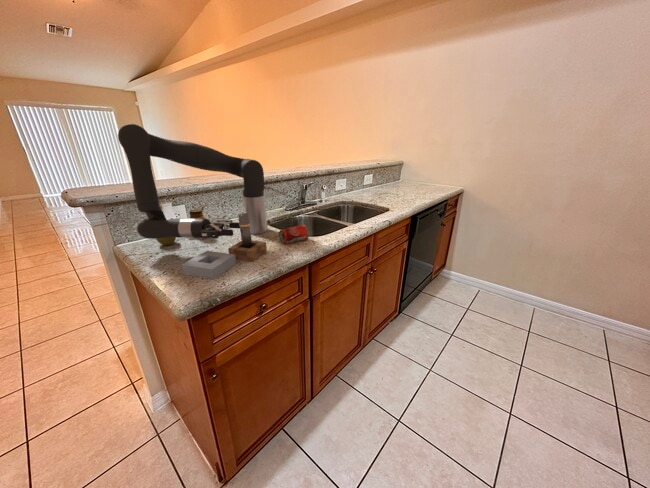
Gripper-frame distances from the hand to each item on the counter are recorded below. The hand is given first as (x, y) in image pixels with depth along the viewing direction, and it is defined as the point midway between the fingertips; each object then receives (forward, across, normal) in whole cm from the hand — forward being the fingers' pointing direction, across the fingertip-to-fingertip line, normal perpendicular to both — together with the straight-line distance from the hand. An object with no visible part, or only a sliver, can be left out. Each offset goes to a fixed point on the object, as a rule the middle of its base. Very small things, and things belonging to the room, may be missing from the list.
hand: (237, 228), depth 97 cm
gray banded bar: (+3, 0, +10) cm, 11 cm away
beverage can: (+18, +15, +11) cm, 26 cm away
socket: (-6, -12, +10) cm, 17 cm away
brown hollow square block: (+3, 0, +10) cm, 11 cm away
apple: (-36, +10, +11) cm, 38 cm away
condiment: (-27, +20, +11) cm, 35 cm away
